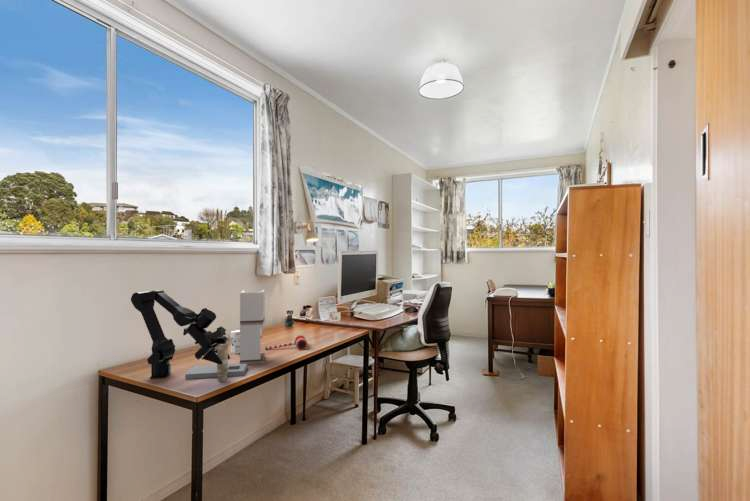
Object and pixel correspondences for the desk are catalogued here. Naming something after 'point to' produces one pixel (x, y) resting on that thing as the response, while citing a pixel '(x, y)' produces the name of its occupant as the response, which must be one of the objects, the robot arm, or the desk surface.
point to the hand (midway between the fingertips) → (225, 361)
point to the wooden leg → (223, 355)
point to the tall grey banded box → (251, 326)
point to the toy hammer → (298, 341)
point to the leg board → (215, 371)
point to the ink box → (235, 342)
